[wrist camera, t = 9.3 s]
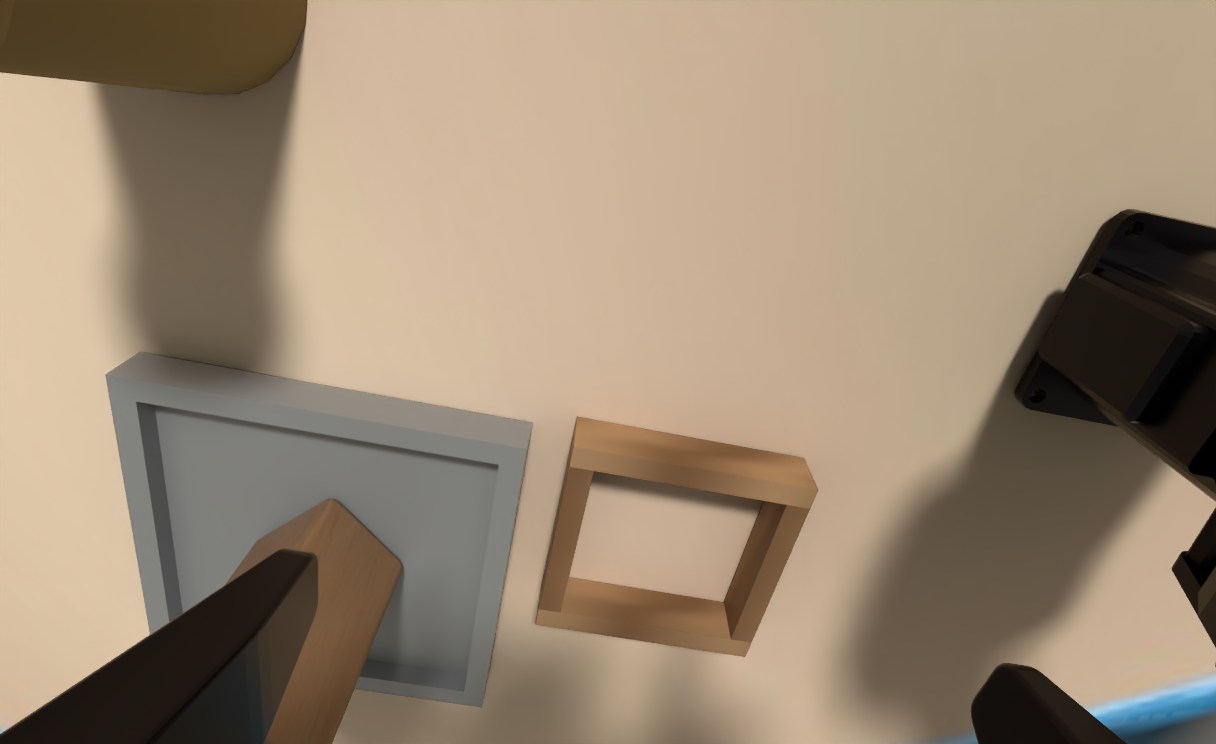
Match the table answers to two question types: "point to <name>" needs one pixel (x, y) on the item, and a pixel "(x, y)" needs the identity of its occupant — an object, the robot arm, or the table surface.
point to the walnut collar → (687, 466)
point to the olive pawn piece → (152, 41)
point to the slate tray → (311, 473)
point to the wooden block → (330, 617)
